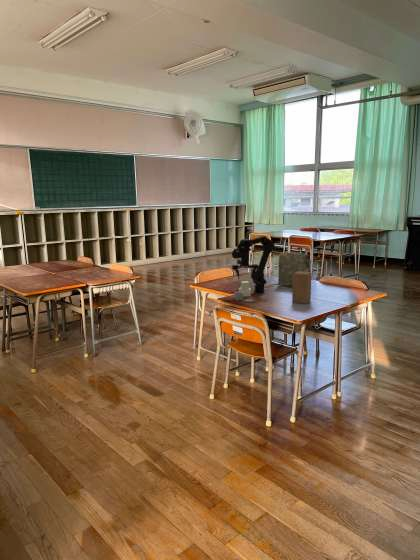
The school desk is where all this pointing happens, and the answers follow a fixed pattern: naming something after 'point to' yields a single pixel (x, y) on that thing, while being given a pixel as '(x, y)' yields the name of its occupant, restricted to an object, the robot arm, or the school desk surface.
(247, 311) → the school desk surface
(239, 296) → the grey cube
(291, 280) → the bag
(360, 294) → the school desk surface
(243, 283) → the green cube
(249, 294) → the plinth
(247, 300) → the board
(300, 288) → the block
